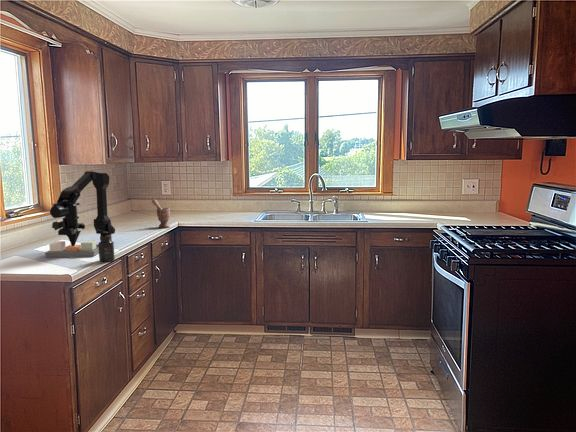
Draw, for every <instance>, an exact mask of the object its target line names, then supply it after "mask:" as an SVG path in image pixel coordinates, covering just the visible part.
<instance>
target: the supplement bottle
mask: <svg viewBox="0 0 576 432" xmlns="http://www.w3.org/2000/svg"><path fill="white" fill-rule="evenodd" d="M111 236H112V235H111ZM111 236H110V235H103V236H99V240H100V241H99V242H98V245H97V246H98V249H99V254H98V258H99V259H98V260H99V262H101V263H110V262H114V261H115V260H116V257H115V255H116V254H115V242H114V241H113V240H112V241H111ZM113 242H114V243H113Z"/></svg>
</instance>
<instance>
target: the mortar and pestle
mask: <svg viewBox="0 0 576 432" xmlns="http://www.w3.org/2000/svg"><path fill="white" fill-rule="evenodd" d="M151 202H152V204H153V205H154V206H155V207H156V216H157V219H158V221H159V222H160V224H158V228H159V229H168V228H170V227H171V225H170V224H169V223H168V222H169V220H170V217H171V208H170V207H161V205H160V204H159V202H158V201H157V199H155V198H153V199H152V200H151Z"/></svg>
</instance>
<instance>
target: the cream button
mask: <svg viewBox="0 0 576 432" xmlns="http://www.w3.org/2000/svg"><path fill="white" fill-rule="evenodd" d="M48 244H49V245H48V246H49V250H50V252H52V251H63V250H65V249H66V248H65V247H67V245H66V241H65V240H60V241H58V240H57V241H52V242H50V243H48Z"/></svg>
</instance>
